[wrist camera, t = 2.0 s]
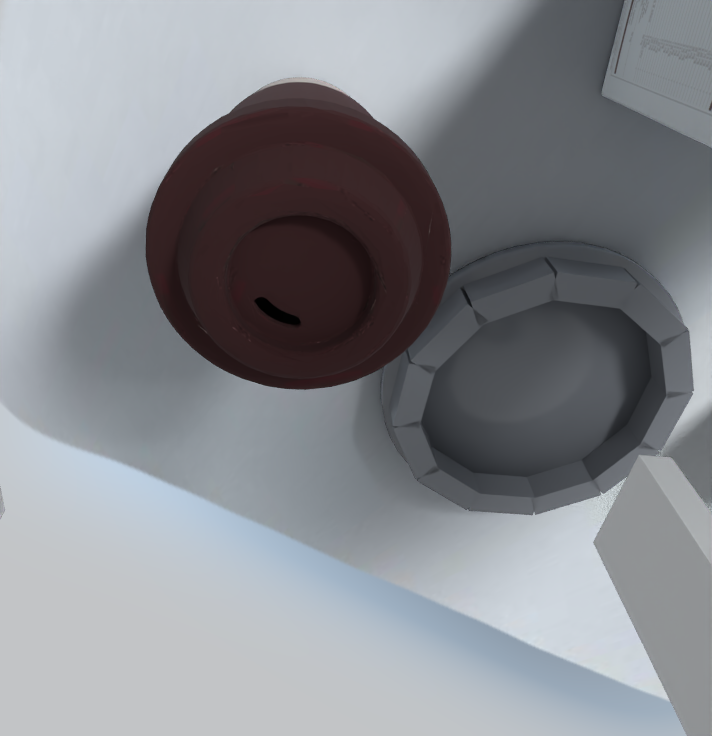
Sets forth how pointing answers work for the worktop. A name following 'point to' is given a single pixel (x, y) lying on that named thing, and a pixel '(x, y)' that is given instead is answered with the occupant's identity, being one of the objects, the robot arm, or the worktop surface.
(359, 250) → the coffee cup
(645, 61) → the supplement box
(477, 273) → the bowl
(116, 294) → the worktop surface
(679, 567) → the robot arm
